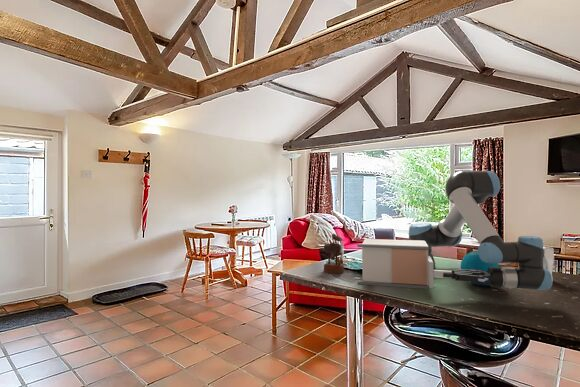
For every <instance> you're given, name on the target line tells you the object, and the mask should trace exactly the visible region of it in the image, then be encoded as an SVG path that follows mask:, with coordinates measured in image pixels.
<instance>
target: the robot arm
mask: <svg viewBox="0 0 580 387" xmlns="http://www.w3.org/2000/svg"><path fill="white" fill-rule="evenodd" d="M444 187H445V188H444V189H445V195H446V196H447V199H448V200H449V202H450V203H451V204H454V205H453V206H452V208H451V210H450V211H449V213H448V214H447V216H446V217H445V218H444V219H442V220H440V221H439V222H438V224H437V225H432V223H430V222H424V223H423V222H418V223H414V224H411V225H410V226H409V228H408V240H422V241H425V242H426V243H427V245H428V247H429V250H428V256H430V257H431V259H432V261H433V277H434V278H435V279H437V278H438V279H439V278H440V279H451V280H454V281H460V282H468V283H471V282H476V283H482V284H485V282H488V283H489V285H488V286H489V287H491V288H507V289H508V290H512V289H520V290H521V289H524V290H533V291H547V290H550V289H551V288H552V286H553V281H552V278H553V274H552V275H551V273H550V271H549V270H547V269H544V267H543V250H544V249H543V246H544V242H543V239H542V238H541V237H539V236H535V235H534V236H533V235H520V236H518V238H517V241H509V242H508V241H507V242H506V241H504V240H503V239H502V237H501V236H500V235H499V233H498V232H497V230H496V228H495V227H494V226H493V224H492V223H491V222H490V220H489V219H488V216H486V214H485V213H484V211H483V209H481V207H480V205H482V204H484V203H485V202H486V200H487V199H488V198H489V197H496V196H497V195H498V194H499V192H500V189H501V182H500V178H499V177H498V175H497V173H496V172H494V171H493V170H492V171H491V170H476V171H475V170H468V171H467V170H466V171H465V170H460V171H457V172H454V173H453V174H451V175H450V176H449V177H448V179H447V181H446V183H445V186H444ZM465 223H466V225H467V226H468V229H470V231H471V233H472V235H474V237H475V239H476V241H477V242H478V244H479V245H478V248H477V251H478V253H479V257H480V259H481V260H482V261H483V262H485V263H493V264H498V265H499V264H510V263H511V264H514V263H515V264H516V263H517V265H518V267H509V266H508V267H505V266H501V267H489V268H488V271H487V272H484V271H483V270H477V269H461V268H460V269H454V268H453V269H451V270H446V269H445V270H443V269H436V261H435V258H434V255H433V248H437V247H438V248H439V247H440V248H441V247H446V248H447V247H451V248H452V247H457V246H458V245H460V243H461V242H462V240H463V239H462V237H463V231H462V227H463V225H464V224H465Z"/></svg>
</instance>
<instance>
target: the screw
mask: <svg viewBox="0 0 580 387" xmlns="http://www.w3.org/2000/svg"><path fill="white" fill-rule="evenodd" d="M340 242H341V247H342V249H341V253H342V255H339V260H340V257H341V259H342V260H343V262H344V263H346V262H347V259H346V258H345V259H344V241H340Z"/></svg>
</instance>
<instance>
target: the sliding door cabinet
mask: <svg viewBox="0 0 580 387" xmlns="http://www.w3.org/2000/svg"><path fill="white" fill-rule="evenodd" d="M356 247H357V248H361V250H362V251H361V253H362V254H361V256H362V257H361V258H362V259H361V261H362V264H361V265H362V267H361V268H362V280H360V279H359V280H357V285H368V286H380V287H381V286H382V287H384V286H385V287H395V288H410V289H411V288H414V289H425V290H430V288H429V285H428V282H427V279H426V285H420V284H405V283H392V248H394V249H422V250H426V256H428V250H429V247H428V245H427V243H426V242H425V241H422V240H409V239H388V238H387V239H380V238H378V239H377V238H376V239H375V238H364V240H363V241H362V243H357V246H356Z"/></svg>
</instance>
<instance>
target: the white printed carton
mask: <svg viewBox="0 0 580 387" xmlns="http://www.w3.org/2000/svg"><path fill="white" fill-rule="evenodd" d="M543 249H544V250H543V267H544V269H547V270H549V271H550V273H551V275H552V276H553V274H552V273H553V268H554V263H555V250H554V247H552V246H544V245H543ZM553 281H554V279H553V277H552V282H553Z"/></svg>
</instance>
